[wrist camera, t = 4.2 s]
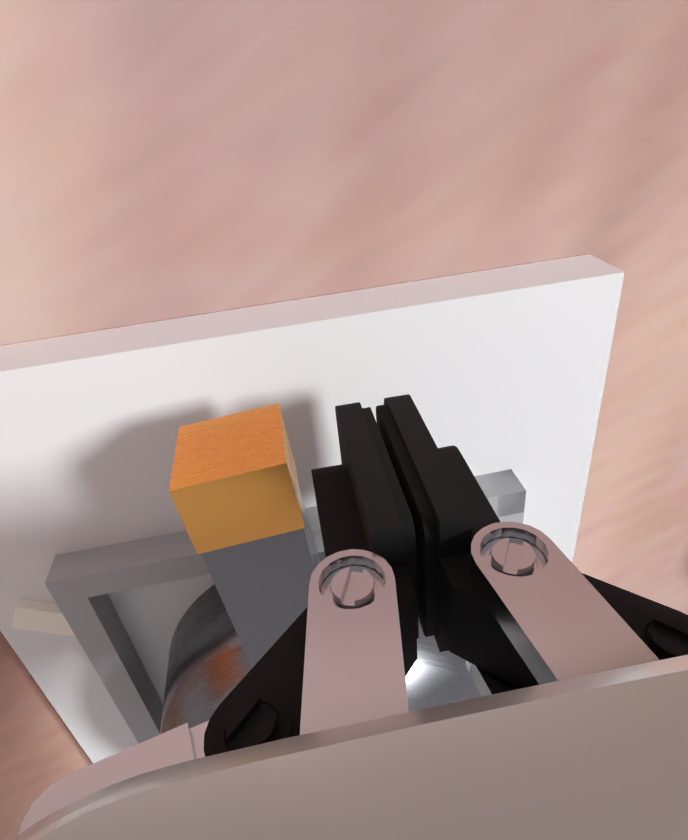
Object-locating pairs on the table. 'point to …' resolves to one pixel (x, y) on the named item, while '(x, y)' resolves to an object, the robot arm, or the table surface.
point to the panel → (308, 435)
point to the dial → (256, 567)
